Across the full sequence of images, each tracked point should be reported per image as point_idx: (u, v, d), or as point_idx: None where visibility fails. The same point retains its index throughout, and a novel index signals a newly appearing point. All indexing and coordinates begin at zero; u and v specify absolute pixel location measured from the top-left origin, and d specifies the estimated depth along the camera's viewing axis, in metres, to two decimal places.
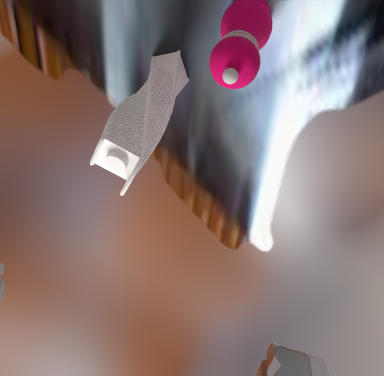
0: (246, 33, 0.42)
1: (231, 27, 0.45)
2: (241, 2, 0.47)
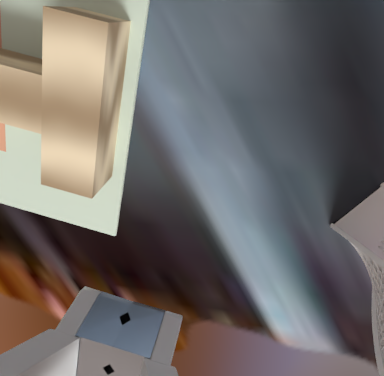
0: None
1: None
2: None
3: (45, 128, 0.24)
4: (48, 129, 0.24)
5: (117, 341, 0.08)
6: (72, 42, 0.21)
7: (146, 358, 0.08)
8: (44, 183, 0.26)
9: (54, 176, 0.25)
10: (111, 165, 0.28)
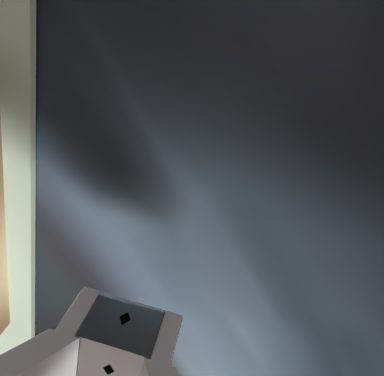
0: None
1: None
2: None
3: None
4: None
5: (117, 341, 0.08)
6: None
7: (146, 358, 0.08)
8: None
9: None
10: (2, 312, 0.15)
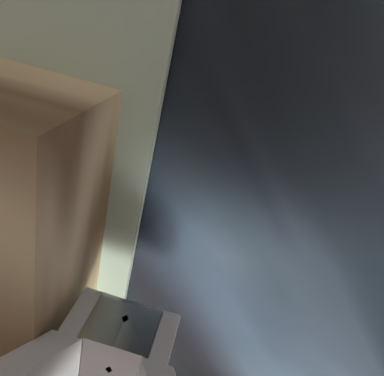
0: None
1: None
2: None
3: None
4: None
5: (115, 340, 0.08)
6: None
7: (144, 357, 0.08)
8: None
9: None
10: None
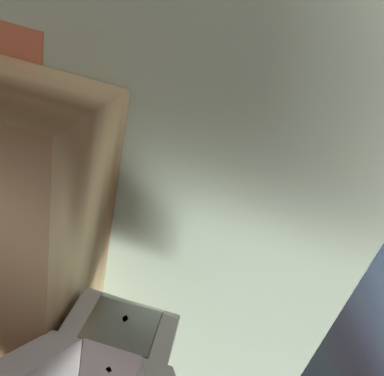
0: None
1: None
2: None
3: None
4: None
5: (114, 340, 0.08)
6: None
7: (143, 357, 0.08)
8: None
9: None
10: None
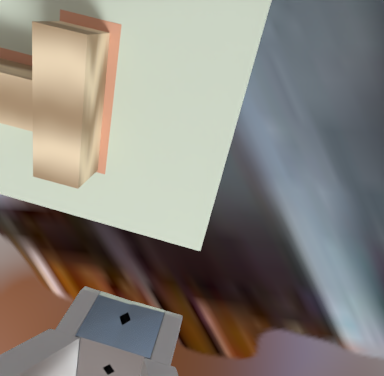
0: None
1: None
2: None
3: (36, 126, 0.27)
4: (38, 127, 0.27)
5: (117, 341, 0.08)
6: (57, 51, 0.24)
7: (146, 358, 0.08)
8: (36, 175, 0.29)
9: (44, 169, 0.29)
10: (96, 160, 0.32)
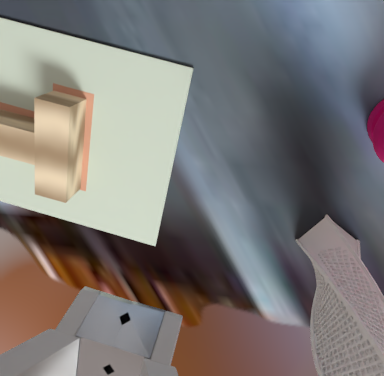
0: None
1: None
2: None
3: (36, 161, 0.40)
4: (38, 162, 0.40)
5: (117, 341, 0.08)
6: (50, 116, 0.38)
7: (146, 358, 0.08)
8: (37, 193, 0.42)
9: (42, 189, 0.42)
10: (79, 181, 0.45)
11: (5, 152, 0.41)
